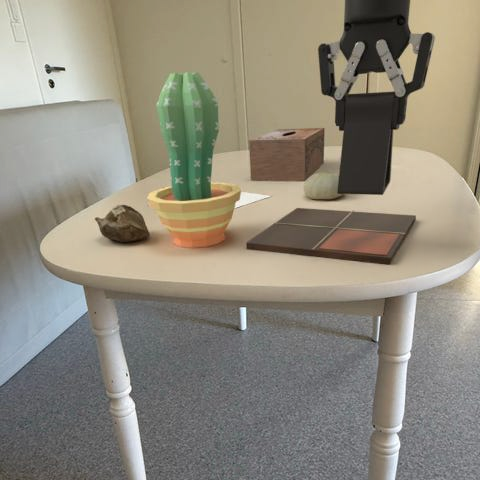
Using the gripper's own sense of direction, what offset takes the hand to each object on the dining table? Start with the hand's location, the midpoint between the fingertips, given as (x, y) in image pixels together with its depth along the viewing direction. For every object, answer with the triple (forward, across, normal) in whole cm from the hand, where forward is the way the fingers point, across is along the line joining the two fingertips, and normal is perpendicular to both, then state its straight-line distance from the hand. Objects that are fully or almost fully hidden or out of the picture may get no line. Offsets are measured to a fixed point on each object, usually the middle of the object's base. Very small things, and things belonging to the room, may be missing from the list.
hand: (368, 129), depth 60 cm
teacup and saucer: (+17, +40, -21) cm, 48 cm away
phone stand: (+8, 0, 0) cm, 8 cm away
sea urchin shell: (+17, +16, -30) cm, 38 cm away
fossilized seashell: (+17, +40, +8) cm, 44 cm away
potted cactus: (+17, +27, +4) cm, 32 cm away
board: (+17, +6, -5) cm, 18 cm away
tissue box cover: (+17, +35, -57) cm, 69 cm away
